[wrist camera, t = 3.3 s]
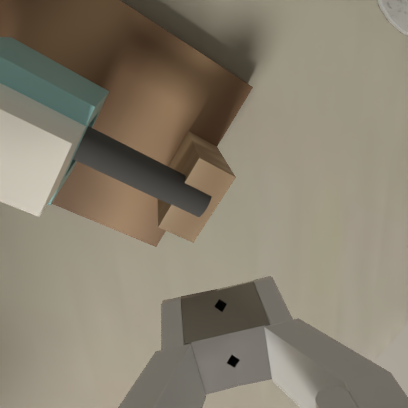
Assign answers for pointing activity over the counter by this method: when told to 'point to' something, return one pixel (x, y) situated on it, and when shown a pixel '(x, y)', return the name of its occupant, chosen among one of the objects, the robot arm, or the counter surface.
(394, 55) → the counter surface
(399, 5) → the grey upright cylinder
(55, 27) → the rod slider board
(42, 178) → the sleeve
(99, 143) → the rail
